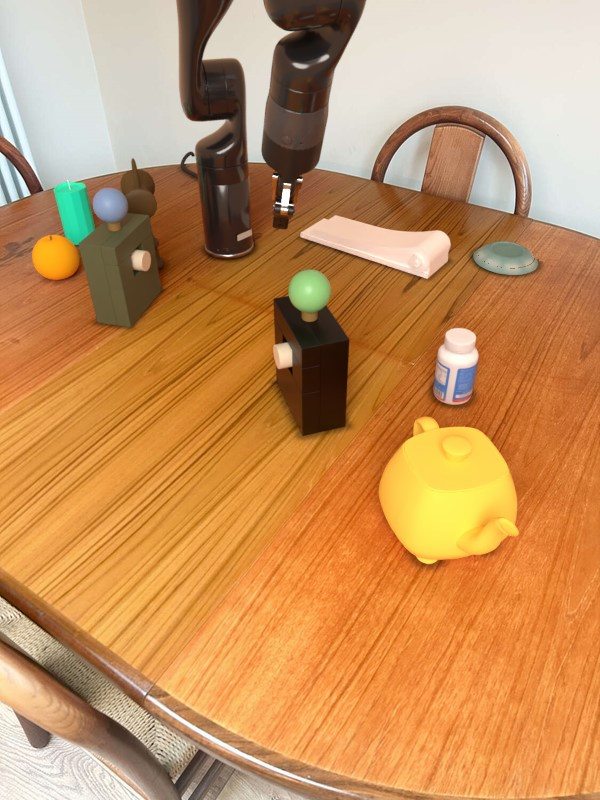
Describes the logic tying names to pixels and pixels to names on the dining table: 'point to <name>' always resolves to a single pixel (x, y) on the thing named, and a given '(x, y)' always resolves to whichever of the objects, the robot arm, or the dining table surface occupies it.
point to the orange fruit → (55, 257)
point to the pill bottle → (456, 367)
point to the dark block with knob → (312, 354)
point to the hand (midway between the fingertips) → (280, 224)
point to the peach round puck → (140, 260)
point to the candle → (74, 210)
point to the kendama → (141, 197)
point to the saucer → (505, 258)
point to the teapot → (448, 493)
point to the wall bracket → (384, 244)
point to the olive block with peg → (119, 261)
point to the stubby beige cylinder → (282, 355)
